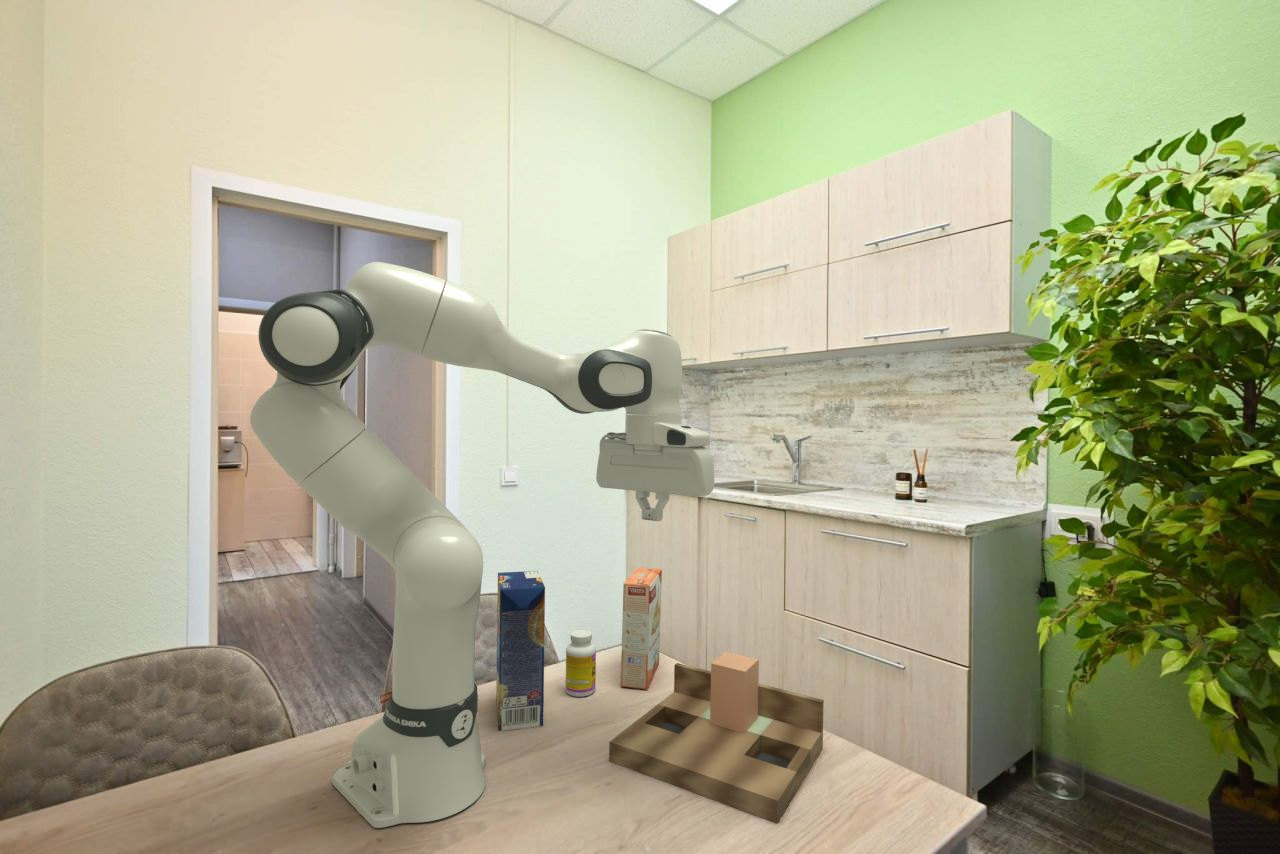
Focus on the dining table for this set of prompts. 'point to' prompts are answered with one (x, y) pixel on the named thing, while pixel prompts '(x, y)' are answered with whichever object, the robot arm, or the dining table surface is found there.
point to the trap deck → (726, 745)
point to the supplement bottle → (580, 664)
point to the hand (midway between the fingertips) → (652, 520)
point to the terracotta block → (734, 692)
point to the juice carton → (520, 650)
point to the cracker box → (641, 627)
